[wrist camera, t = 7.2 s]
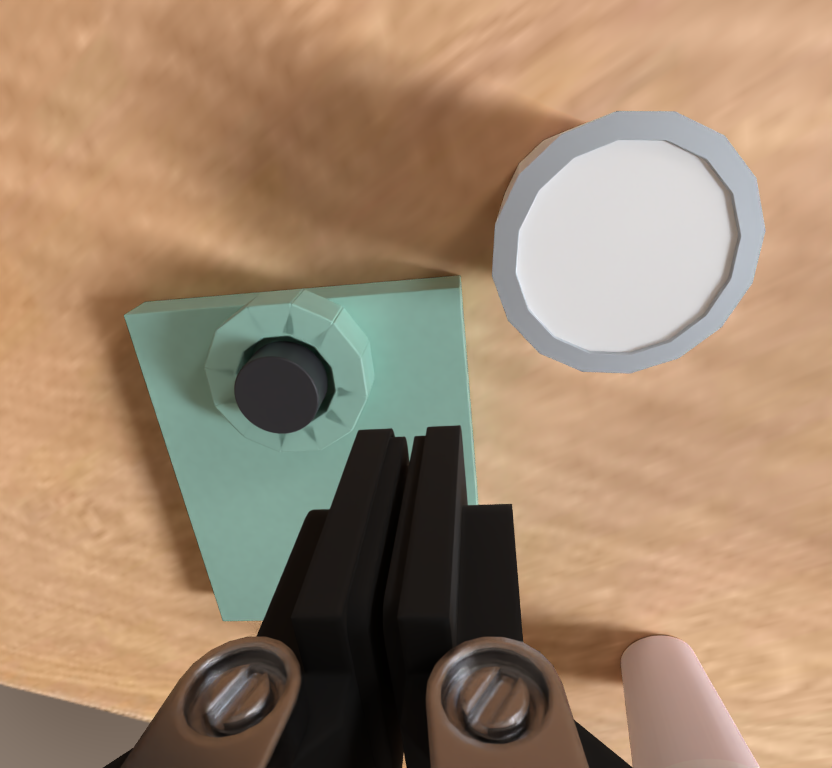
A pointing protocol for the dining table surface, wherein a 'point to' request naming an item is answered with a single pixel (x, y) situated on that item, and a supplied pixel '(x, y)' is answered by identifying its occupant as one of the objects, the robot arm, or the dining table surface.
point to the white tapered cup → (626, 240)
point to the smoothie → (677, 710)
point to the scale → (323, 437)
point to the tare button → (281, 387)
